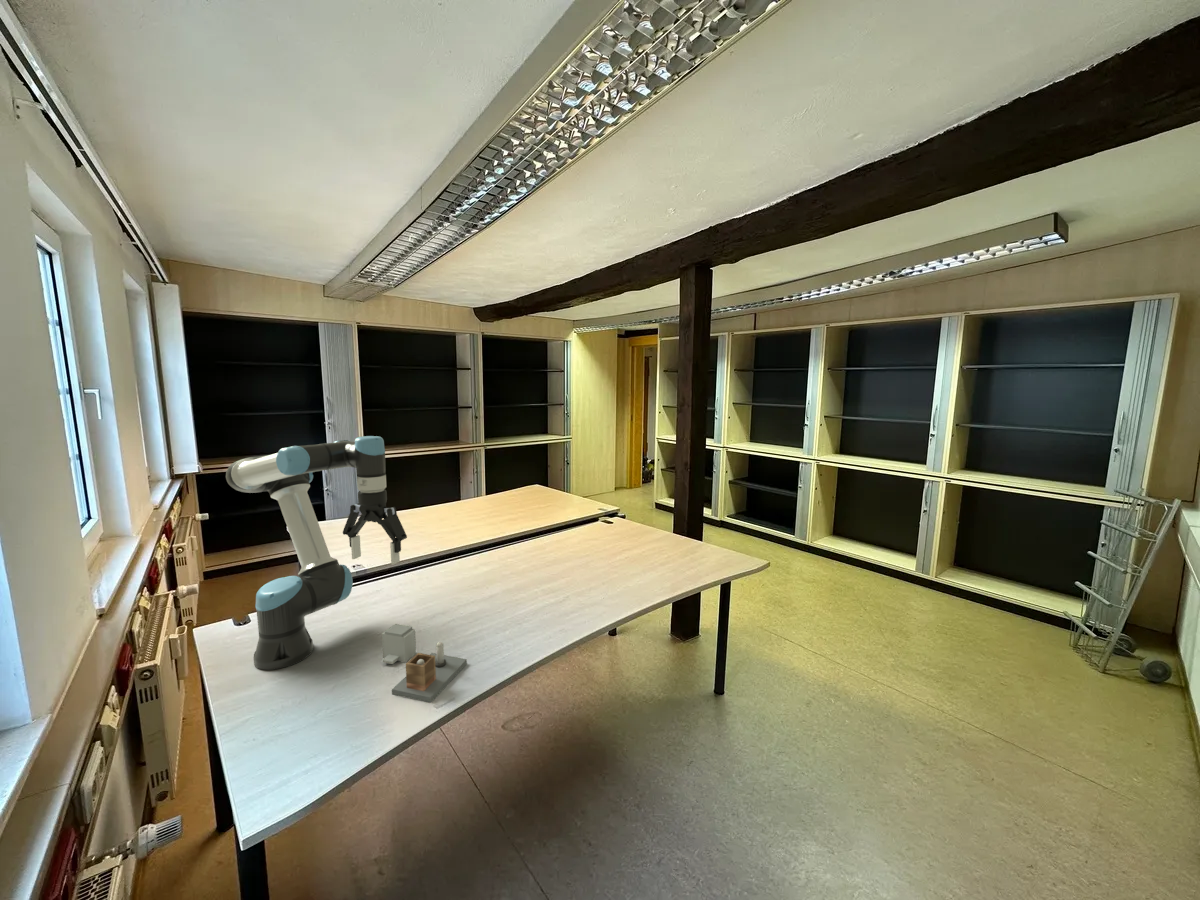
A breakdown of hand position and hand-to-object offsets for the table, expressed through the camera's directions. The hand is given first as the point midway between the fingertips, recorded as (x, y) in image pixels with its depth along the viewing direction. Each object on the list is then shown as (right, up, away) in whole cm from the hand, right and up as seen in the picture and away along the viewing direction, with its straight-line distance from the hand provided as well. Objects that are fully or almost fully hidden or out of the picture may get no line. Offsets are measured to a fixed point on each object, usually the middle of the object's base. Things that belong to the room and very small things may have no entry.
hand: (375, 560), depth 136 cm
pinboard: (+18, -33, -4) cm, 38 cm away
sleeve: (+17, -32, -9) cm, 37 cm away
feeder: (+4, -31, +5) cm, 32 cm away
